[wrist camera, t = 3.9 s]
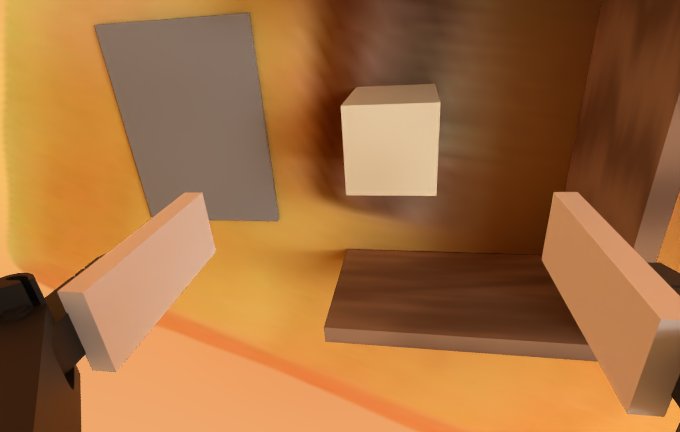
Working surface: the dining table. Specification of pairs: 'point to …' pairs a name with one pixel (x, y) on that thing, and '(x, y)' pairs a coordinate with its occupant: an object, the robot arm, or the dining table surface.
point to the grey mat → (194, 112)
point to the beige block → (391, 140)
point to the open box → (583, 177)
